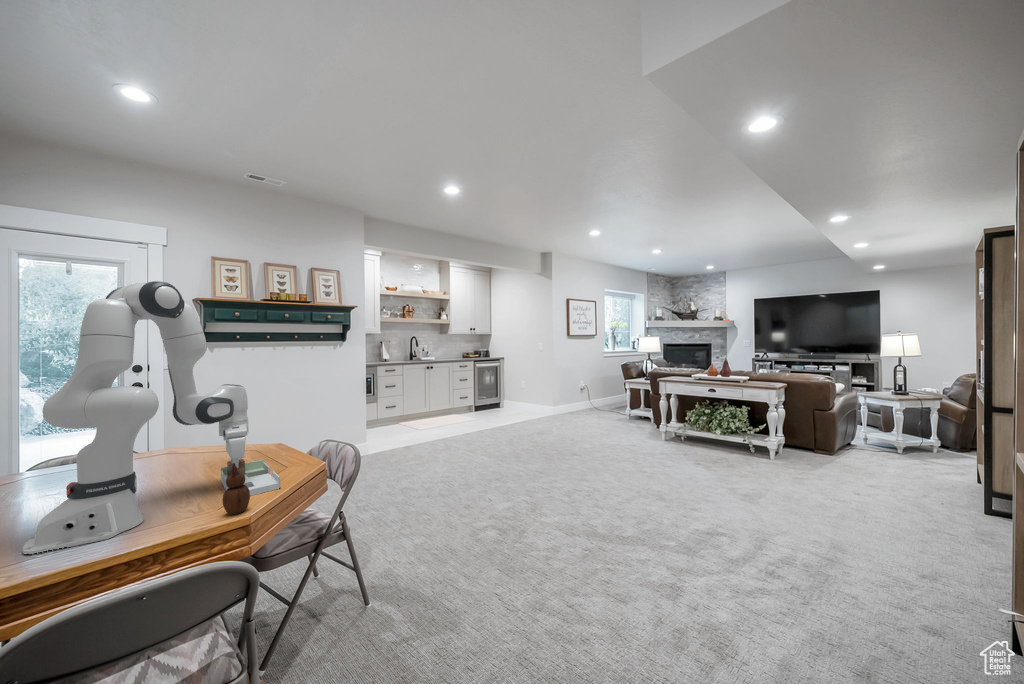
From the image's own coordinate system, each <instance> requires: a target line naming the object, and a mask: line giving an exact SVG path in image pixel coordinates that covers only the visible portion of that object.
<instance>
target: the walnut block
mask: <svg viewBox="0 0 1024 684" xmlns="http://www.w3.org/2000/svg"><path fill="white" fill-rule="evenodd" d="M226 463H227V466H226V467H227V468H228V476H229V475H231V474H232V463H231V460H229V461H226ZM245 463H246V461H245V459H244V458H241V459H239V463H238V466H239V467H238V468H237V469H238V473H243V474H244V475H246V474H245Z"/></svg>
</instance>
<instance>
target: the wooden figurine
mask: <svg viewBox="0 0 1024 684" xmlns="http://www.w3.org/2000/svg"><path fill="white" fill-rule="evenodd" d="M244 483H245V475H244V474H243V473H238V469H237V467H236V466H235V463H232V474H231V475H229V476H228V477H227V479H226V486H227V487H228V489H227V490H226V489H225V491H224V492H223V495H222V506H223V509H224V511H225V512H226V514H228V515H238V514H241V513H243V512H244V511H246V510H247V509H248V507H249V503H250V500H251V499H250V498H251V496H250V491H249V488H248V487H247V486H246V485H243V484H244Z"/></svg>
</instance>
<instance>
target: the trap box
mask: <svg viewBox="0 0 1024 684" xmlns="http://www.w3.org/2000/svg"><path fill="white" fill-rule="evenodd" d="M271 473H272V475H271ZM245 474H246V475H245V483H244V484H243V485H246V486H247V487H248V488H249V491H250V497H251V496H255V495H259V494H264V493H268V492H267V491H269V492H272V491H271V490H273V491H276V490H275V489H277V490H280V489H279V488H281V476H280V475H278V473H276V471H274V470H272V472H271V467H270V466H269V464H268V463H266V462H265V459H259V460H255V461H249V462H245ZM227 477H228V468H227V466H223V467H220V479H221V480H220V482H221V484H222V486H223V487H224V489H225V491H226V490H227V489H228V487H227V486H226V479H227Z"/></svg>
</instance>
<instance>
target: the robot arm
mask: <svg viewBox="0 0 1024 684" xmlns="http://www.w3.org/2000/svg"><path fill="white" fill-rule="evenodd" d="M142 320H145V321H146V320H147V321H148V320H152V322H154V324H155V325H156V326H157V327H158V329H159V333H160V338H161V341H162V344H163V347H164V351H165V354H166V360H167V361H166V362H167V370H168V374H169V379H170V384H171V389H172V393H173V406H172V416H173V419H174V420H175V421H176V422H177V423H179V424H180V425H184V426H193V425H213V424H215V423H218V436H219V437H222V438H223V441H225V451H226V453H227V455H228V456H229V458H230V461H231V463H235V466H236V467H237V468H238V467H239V466H238V463H239V459H244V458H245V451H246V440H247V439H246V436H248V433H249V432H250V431H249V417H248V405H249V403H248V402H249V401H248V395H247V390H246V388H245V386H243V385H241V384H234V383H233V384H229V383H228V384H225V383H224V384H221V385H220V386H218V387H217V388H216V389H215V390H213V391H212V392H209V393H207V394H205V395H200V394H199V393H198V391H197V387H196V382H195V377H194V371H193V370H194V367H195V365H196V364H197V363H198V361H200V360H201V359H202V358H203V357H204V355H205V354H206V352H207V339H206V335H205V333H204V332H205V331H204V329H203V327H202V324H201V322H200V319H199V317H198V315H197V313H196V311H195V310H194V308H193V307H192V306H191V305H190V304H188V303H186V302H185V300H184V299H183V297H182V294H181V293H180V291H179V290H178V289H177V288H176V287H175V286H174V285H173V284H171V283H170V282H165V281H160V280H159V281H158V280H157V281H153V280H152V281H149V282H141V283H140V282H139V283H138V282H136V283H133V284H132V283H131V284H128V285H126V286H121V287H117V288H116V289H113V290H111V291H110V292H109V293H108V294H107V295H106V296H105V298H102V299H96V300H93V301H92V302H90V303H89V304H87V307H86V309H85V312H84V314H83V318H82V322H81V327H80V334H79V342H78V343H79V344H78V352H77V359H76V364H75V367H74V368H73V369H74V370H73V372H72V373H71V375H70V377H69V379H67V382H65V384H64V385H63V386H62V387H61V388H60V389H59V390H58V391H56V392H55V393H54V394H52V395H50V396H49V397H48V398H47V399H46V401H45V402H44V403H43V407H42V417H43V418H44V420H45V422H46V423H47V424H49V425H50V426H52V427H54V428H55V427H56V428H63V429H68V430H69V429H72V430H82V429H96V433H95V436H94V438H93V440H92V441H91V443H88V444H86V445H85V446H84V447H82V448H81V449H80V450H79V451H78V452H77V454H76V456H75V457H76V460H75V461H76V477H77V481H72V482H70V483H68V484H67V486H66V488H65V489H66V499H65V501H62V502H61V503H60V504H59V505H57V506H55V508H54V509H52V510H51V511H50V512H49V513H47V514H46V515H45V516H44V517H42V519H41V520H40V521H39V523H38V525H37V527H36V529H35V536H34V537H32V538H30V539H29V540H27V541H26V542H25V543H24V544H23V545H22V549H21V550H22V551H23V553H26V554H32V555H34V554H33V553H37V552H42V553H44V552H43V551H47V552H49V551H48V550H52V549H57V550H60V549H59V548H62V549H65V548H64V547H67V548H70V547H76V546H81V545H85V544H89V543H90V544H91V543H94V542H95V543H96V542H99V541H106V540H109V539H111V538H113V537H115V536H116V535H118V534H121V533H123V532H125V531H128V530H131V529H133V528H135V527H137V526H138V525H141V523H143V522H144V520H145V519H144V517H143V515H142V513H141V509H140V507H139V504H138V503H139V502H138V500H137V494H136V492H137V489H138V484H137V483H138V482H137V473H136V472H135V470H134V448H135V447H134V446H135V442H136V439H137V436H138V434H139V433H140V431H141V429H142V428H143V427H144V425H145V424H146V423H148V422H149V421H151V420H152V419H153V418H154V416H155V415H156V413H157V412H158V410H159V406H160V405H159V403H160V402H159V398H158V396H157V394H156V392H154V391H153V390H152V389H150V388H148V387H143V386H142V387H141V386H136V385H135V386H133V385H123V386H121V385H120V386H113V384H114V382H115V380H116V379H117V378H118V376H120V375H121V374H122V373H125V372H126V371H128V370H129V369H130V368H132V365H133V363H134V349H135V336H136V335H135V334H136V332H135V328H136V325H137V323H138V322H139V321H142ZM22 551H21V552H22ZM52 551H53V550H52ZM23 553H22V554H23ZM37 554H38V553H37Z"/></svg>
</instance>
